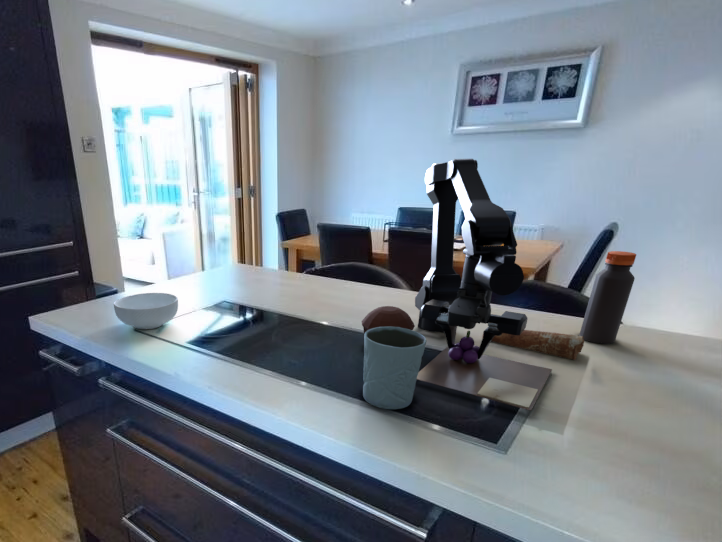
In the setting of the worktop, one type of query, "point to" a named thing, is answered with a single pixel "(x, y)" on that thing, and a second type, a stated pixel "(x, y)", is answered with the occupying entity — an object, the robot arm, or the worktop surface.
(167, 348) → the worktop surface
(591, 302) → the bottle
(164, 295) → the cereal bowl
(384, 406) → the grey green cup
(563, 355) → the bread
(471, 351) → the grapes
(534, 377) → the serving board
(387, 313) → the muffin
